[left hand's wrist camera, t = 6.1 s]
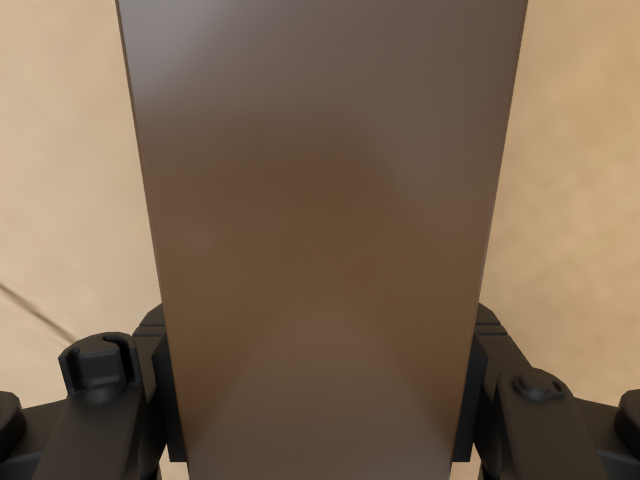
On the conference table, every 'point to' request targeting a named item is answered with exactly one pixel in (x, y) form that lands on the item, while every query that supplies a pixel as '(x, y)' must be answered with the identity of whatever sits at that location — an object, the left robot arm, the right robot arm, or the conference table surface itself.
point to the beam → (320, 221)
